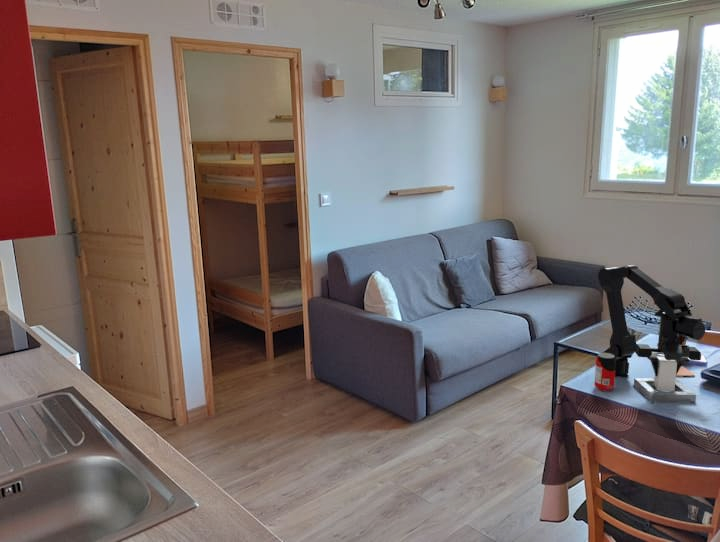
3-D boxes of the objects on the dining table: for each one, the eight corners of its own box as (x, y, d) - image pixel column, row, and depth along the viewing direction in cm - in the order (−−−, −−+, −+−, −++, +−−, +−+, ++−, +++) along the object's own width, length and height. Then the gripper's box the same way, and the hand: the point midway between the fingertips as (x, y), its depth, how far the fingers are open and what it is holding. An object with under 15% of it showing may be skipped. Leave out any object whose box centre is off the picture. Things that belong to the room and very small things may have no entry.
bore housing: (651, 401, 184) (652, 394, 183) (633, 385, 197) (634, 378, 197) (695, 402, 183) (696, 394, 183) (674, 385, 197) (675, 378, 196)
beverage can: (615, 392, 191) (617, 359, 189) (595, 391, 193) (597, 357, 191) (612, 385, 197) (615, 352, 195) (593, 383, 199) (595, 351, 197)
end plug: (657, 390, 188) (660, 361, 186) (653, 384, 193) (656, 356, 191) (674, 391, 187) (677, 362, 185) (669, 385, 192) (672, 357, 190)
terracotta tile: (668, 376, 204) (669, 375, 204) (657, 367, 213) (657, 366, 213) (694, 376, 203) (695, 375, 203) (682, 367, 212) (682, 366, 212)
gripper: (644, 337, 180) (640, 383, 183) (709, 340, 176) (704, 388, 179) (635, 327, 191) (632, 371, 194) (697, 330, 187) (692, 374, 190)
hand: (664, 376), depth 189 cm, fingers closed on end plug, 5 cm apart
